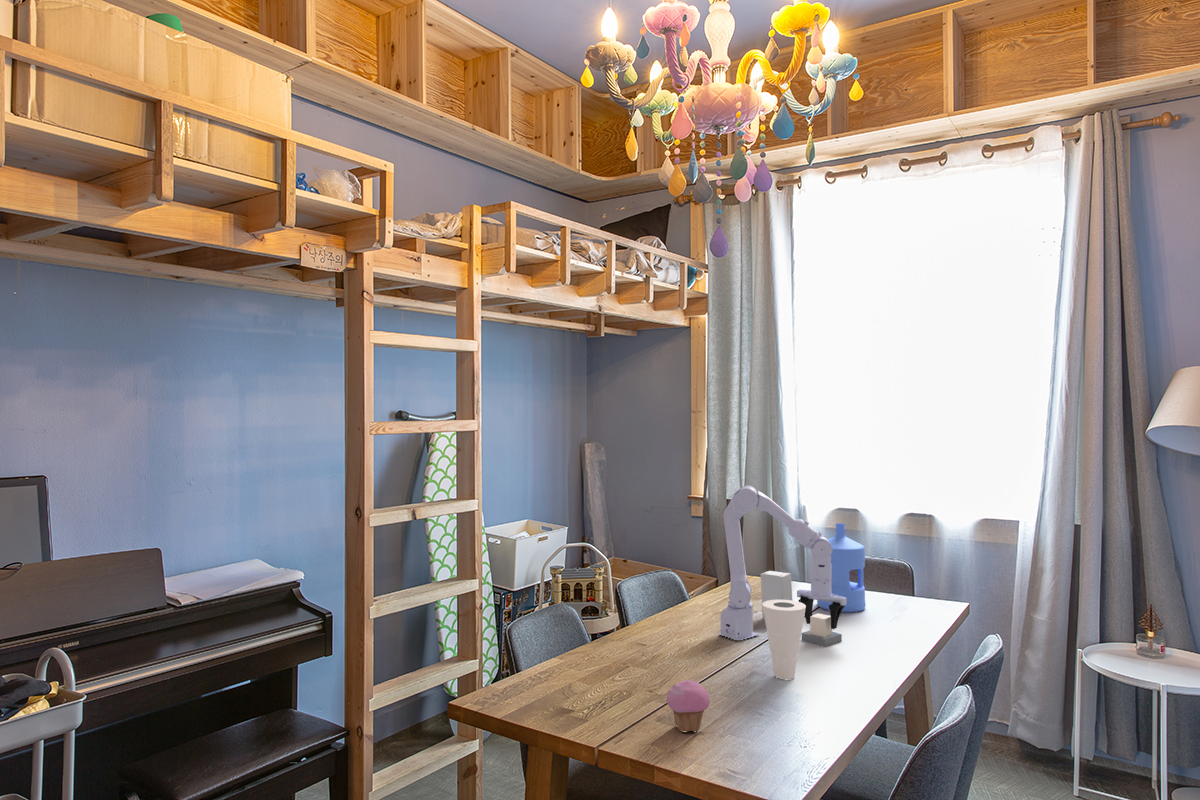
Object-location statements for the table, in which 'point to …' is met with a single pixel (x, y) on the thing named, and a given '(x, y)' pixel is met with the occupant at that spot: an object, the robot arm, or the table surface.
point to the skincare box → (775, 586)
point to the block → (820, 625)
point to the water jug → (846, 571)
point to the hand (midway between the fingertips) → (821, 625)
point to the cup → (784, 634)
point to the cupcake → (688, 704)
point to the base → (822, 638)
